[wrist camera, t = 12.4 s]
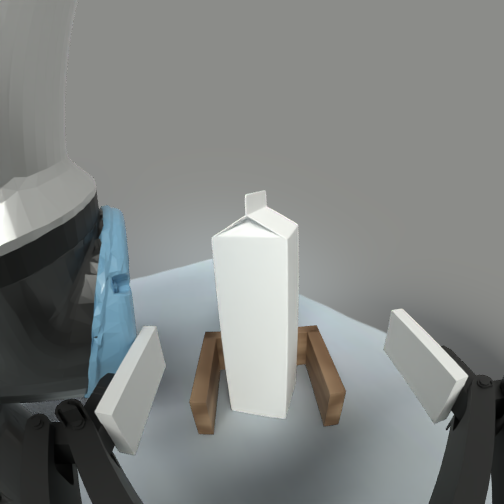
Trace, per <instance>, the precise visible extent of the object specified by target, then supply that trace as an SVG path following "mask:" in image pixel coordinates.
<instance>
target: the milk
mask: <svg viewBox="0 0 504 504" xmlns="http://www.w3.org/2000/svg"><path fill="white" fill-rule="evenodd" d="M298 228H299V227H298V224H296V223H295V222H293V221H291V220H290V219H288V218H286V217H285V216H283V215H281V214H279V213H278V212H276V211H274V210H273V209H271V208H269V207H267V201H266V191H265V190H263V191H259V192H254V193H250V194H246V195H245V216H244V217H242V218H241V219H239V220H237V221H236V222H234V223H233V224H231V225H230V226H228V227H227V228H225V229H224V230H222V231H221V232H219V233H217V234H216V235H214V236H213V237H212V238H211V240H212V252H213V263H214V274H215V284H216V294H217V303H218V312H219V321H220V329H221V338H222V346H223V354H224V361H225V369H226V376H227V383H228V390H229V397H230V404H231V409H232V410H233V411H238V412H243V413H249V414H254V415H260V416H266V417H272V418H279V419H286V416H287V412H288V409H289V405H290V402H291V398H292V395H293V391H294V388H295V384H296V365H297V341H298V302H299V233H298V232H299V231H298V230H299V229H298Z"/></svg>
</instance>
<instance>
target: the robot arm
mask: <svg viewBox="0 0 504 504" xmlns="http://www.w3.org/2000/svg"><path fill="white" fill-rule="evenodd" d="M77 2H78V0H0V504H82V501H81V495H80V488H79V481H78V472H77V469H78V471H79V474H80V476H81V479H82V481H83V484H84V486H85V488H86V491H87V493H88V495H89V497H90V499H91V501H92V504H143V502H142V501H141V499H140V498H139V496H138V495H137V493H136V491H135V490H134V488H133V487H132V485H131V483H130V482H129V480H128V478H127V477H126V475H125V473H124V471H123V470H122V468H121V466H120V464H119V462H118V461H117V459H116V457H115V455H114V453H113V452H112V451H113V448H114V446H116V448H117V449H118V451H119V452H121V453H126V454H131V455H136V452H137V449H138V445H139V442H140V439H141V436H142V433H143V430H144V427H145V424H146V421H147V418H148V415H149V412H150V410H151V407H152V404H153V401H154V398H155V395H156V392H157V390H158V387H159V384H160V381H161V378H162V376H163V373H164V370H165V367H166V363H165V360H164V356H163V352H162V348H161V344H160V340H159V336H158V331H157V327H156V326H143V327H142V329H141V331H140V332H139V334H138V336H137V334H136V324H135V315H134V307H133V299H132V292H131V288H130V286H129V283H130V275H129V257H128V247H127V236H126V229H125V222H124V218H123V214H122V212H121V211H120V210H119V209H117V208H110V207H109V206H108V205H106V206H101V208H100V209H99V208H98V200H97V191H96V183H95V180H94V178H93V177H92V176H91V175H89V174H88V173H87V172H85V171H84V170H83V169H82V168H80V167H79V166H78V165H76V164H75V163H74V162H73V161H71V160H70V158H69V156H68V153H67V150H66V127H65V98H66V77H67V64H68V55H69V46H70V39H71V32H72V26H73V21H74V16H75V11H76V5H77ZM383 350H384V351H385V352H386V354H387V355H388V357H389V358H390V359H391V361H392V362H393V364H394V365H395V366H396V368H397V369H398V371H399V372H400V374H401V375H402V377H403V378H404V379H405V381H406V382H407V384H408V385H409V387H410V388H411V390H412V391H413V393H414V394H415V396H416V397H417V399H418V400H419V402H420V403H421V405H422V406H423V408H424V409H425V411H426V412H427V414H428V415H429V417H430V418H431V420H432V421H433V423H434V424H436V423H438V422H440V421H443V420H445V419H446V418H447V417H448V415H449V413H450V411H452V412H453V413H454V416H453V418H452V419H451V421H450V423H449V424H448V426H447V428H446V430H448V428H449V427H450V431H449V436H448V441H447V445H446V449H445V453H444V457H443V461H442V465H441V468H440V472H439V475H438V478H437V481H436V484H435V487H434V490H433V493H432V496H431V498H430V501H429V504H485V500H486V496H487V491H488V486H489V480H490V474H491V479H492V504H504V377H503V379H502V380H496V381H492V379H491V378H490V377H488V376H485V375H477V376H476V375H475V374H474V373H473V372H472V371H471V370H470V368H468V367H467V365H466V364H465V363H464V362H463V361H461V359H460V358H459V357H457V355H456V354H455V353H454V352H453V351H452V350H451V349H449V348H447V347H445V346H440V345H439V344H438V343H437V342H436V341H435V340H434V339H433V338H432V337H431V336H430V335H429V334H428V333H427V332H426V331H425V330H424V329H423V328H422V327H421V326H420V325H419V324H418V323H417V322H416V321H414V320H413V319H412V318H411V317H410V316H409V315H408V314H407V313H406V312H405V311H404V310H403V309H397V310H391V315H390V321H389V326H388V331H387V336H386V340H385V345H384V349H383ZM80 397H84V398H89V399H88V400H87V402H86V404H85V406H83V405H82V403H81V402H80V401H78V400H76V399H73V398H80ZM64 399H68V400H65V401H63V402H61V403H60V404H59V405H58V406H57V407H56V409H55V415H56V416H57V418H58V420H59V421H60V422H50V420H49V419H48V417H47V416H46V415H44V414H35V415H33V414H32V413H31V412H29V411H28V410H27V409H26V408H25V407H24V406H22V405H21V404H20V403H30V402H44V401H55V400H64Z"/></svg>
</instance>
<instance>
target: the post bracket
mask: <svg viewBox="0 0 504 504" xmlns="http://www.w3.org/2000/svg"><path fill="white" fill-rule="evenodd" d="M303 364H306V368H307V371H308V374H309V378H310V381H311V384H312V388H313V391H314V394H315V398H316V401H317V404H318V408H319V411H320V414H321V418H322V421H323V425H324V426H330V425H336V424H338V423H339V419H340V415H341V411H342V407H343V402H344V398H345V393H346V390H345V388H344V386H343V384H342V381H341V379H340V377H339V374H338V372H337V370H336V368H335V365H334V363H333V361H332V359H331V356H330V354H329V352H328V350H327V347H326V345H325V343H324V341H323V338H322V336H321V334H320V332H319V330H318V327H317V325H315V326H304V327H298V341H297V365H303ZM220 370H225V361H224V354H223V346H222V338H221V332H205V336H204V340H203V344H202V348H201V353H200V357H199V361H198V366H197V370H196V375H195V379H194V384H193V388H192V393H191V397H190V402H189V403H190V406H191V410H192V413H193V417H194V420H195V423H196V427H197V430H198V433H199V434H214V426H215V416H216V406H217V397H218V388H219V379H220Z"/></svg>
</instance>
